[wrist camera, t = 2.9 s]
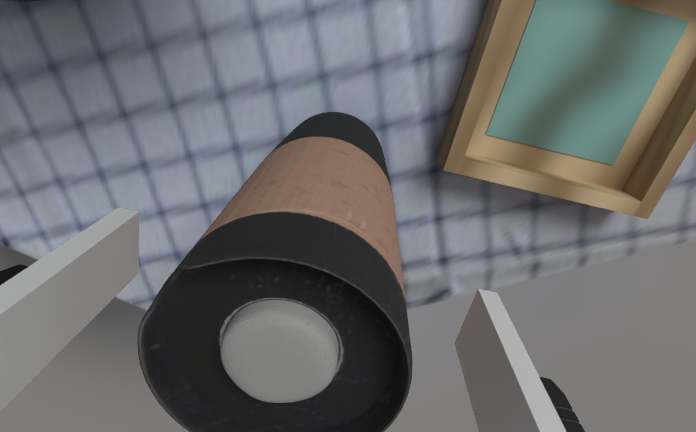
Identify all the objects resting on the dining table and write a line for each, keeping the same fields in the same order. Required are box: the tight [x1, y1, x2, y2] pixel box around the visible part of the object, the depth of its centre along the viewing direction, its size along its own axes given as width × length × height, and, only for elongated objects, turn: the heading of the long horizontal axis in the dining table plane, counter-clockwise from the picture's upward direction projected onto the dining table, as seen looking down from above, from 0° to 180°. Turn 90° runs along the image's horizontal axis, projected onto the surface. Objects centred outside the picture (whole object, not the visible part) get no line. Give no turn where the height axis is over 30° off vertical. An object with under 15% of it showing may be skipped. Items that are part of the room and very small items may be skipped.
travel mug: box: [138, 112, 412, 432], centre depth 20 cm, size 8×8×20 cm
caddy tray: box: [436, 0, 696, 219], centre depth 25 cm, size 14×14×3 cm
